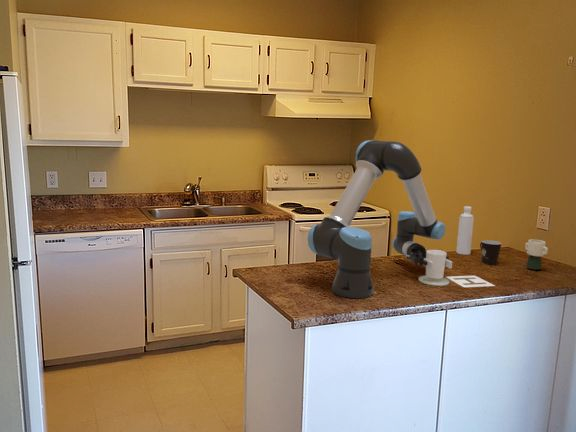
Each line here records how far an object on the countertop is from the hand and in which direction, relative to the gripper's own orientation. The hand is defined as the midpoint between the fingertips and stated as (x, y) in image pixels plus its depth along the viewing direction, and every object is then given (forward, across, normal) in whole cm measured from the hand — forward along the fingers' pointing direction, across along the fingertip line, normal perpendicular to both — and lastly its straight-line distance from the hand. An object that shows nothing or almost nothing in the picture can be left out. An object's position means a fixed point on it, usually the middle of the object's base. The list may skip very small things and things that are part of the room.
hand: (441, 265), depth 201 cm
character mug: (-16, -56, -8) cm, 59 cm away
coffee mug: (-29, -42, -8) cm, 52 cm away
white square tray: (-3, -15, -8) cm, 17 cm away
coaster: (-5, 0, -8) cm, 9 cm away
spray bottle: (-47, -40, -8) cm, 62 cm away
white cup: (-5, 0, -6) cm, 8 cm away
